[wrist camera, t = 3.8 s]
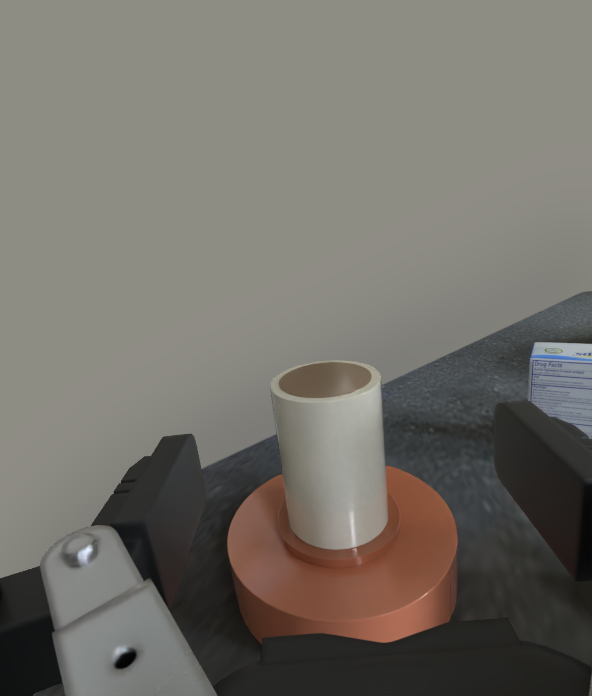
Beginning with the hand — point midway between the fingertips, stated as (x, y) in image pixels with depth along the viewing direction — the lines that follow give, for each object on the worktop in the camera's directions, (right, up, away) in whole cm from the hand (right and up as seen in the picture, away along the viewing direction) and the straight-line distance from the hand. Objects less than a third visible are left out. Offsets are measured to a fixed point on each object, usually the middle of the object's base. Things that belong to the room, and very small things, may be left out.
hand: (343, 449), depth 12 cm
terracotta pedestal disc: (+2, -12, +17) cm, 20 cm away
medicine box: (+24, -6, +27) cm, 37 cm away
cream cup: (+1, -8, +16) cm, 17 cm away
